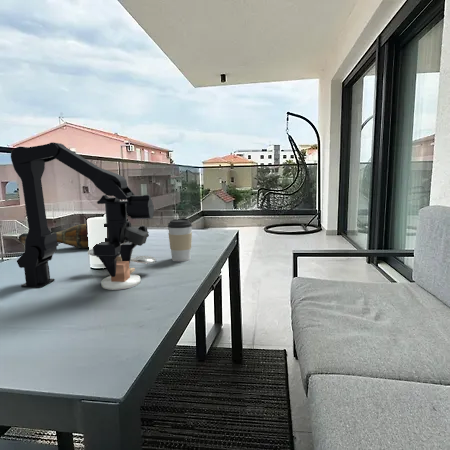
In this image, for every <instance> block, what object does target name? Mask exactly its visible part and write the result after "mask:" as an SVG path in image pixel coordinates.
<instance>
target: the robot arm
mask: <svg viewBox="0 0 450 450" xmlns="http://www.w3.org/2000/svg"><path fill="white" fill-rule="evenodd" d="M10 159H11V164H12V166H13V169H14V171H15V173H16V175H17V176H18V177H19V178H20V181H21V186H22V192H23V199H24V207H25V213H26V220H27V227H28V231H27V233H28V234H27V237H26V240H25V244H24V252H23V253H22V255H21V256H20V257H19V258H18V259H17V260H16V263H17V265H18V267H19V268H20V269H23V270H24V278H25V283H23V284H21V285H20V286H21V287H22V288H43V287H45V286H47V285H49V284H51V283H53V282H54V281H55V278H51V274H50V266H49V261H52V259H53V255H54V254H55V253H56V252H57V251H58V250H57V249H58V248H57V247H58V246H59V244H58V243H59V242H57V234H56V232H51V230H50V229H49V227H48V222H47V221H48V219H47V213H46V206H45V198H44V191H43V184H42V177H43V175H44V171H45V169H46V168H45V167H46V166H45V165H46V163H48V162H49V163H50V162H53V161H55V160H57V161H59V162H60V163H62V164H63V165H66V167H69V168H71V169H72V170H74V171H75V172H77V173H79V174H80V175H82V176H84V177H85V178H87V179H89V180H90V181H91V182H92V183H93V185H94V186H95V187H96V188H97V189H98V190H99V191H101V193H103V195H101V197H100V198H99V199H98V200H97V201H96V204H98V205H104V209H105V222H106V223H105V222H104V223H103V224H104V227H107V238H105V242H101V243H99V244H96V245H95V246H94V247H93V248H92V249H93V255H96V256H95V257H96V258H98V260H100V262H101V263H102V264H103V266H104V267H105V269H106V271H107V272H108V273H109V274H108V275H109V276H110V275H111V277H115V276H116V263H117V258H118V257H119V256H121V258H122V261H129V265H130V264H131V261H130V259H131V258H132V254H133V251H134V249H135V248H136V247H137V246H140V247H141V246H143V245H144V244H146V242H147V238H149V234H150V233H149V231H148V227H147V226H145V225H140V226H139V227H133V226H132V222H131V221H129V220H128V217H130V219H131V220H143V219H146V220H147V219H153V218H154V213H155V208H154V207H155V206H154V204H153V199H152V197H151V194H145V195H144V194H143V195H142V194H141V195H136V194H135V193H134V192H133V191H132V190H131V188H130V187H129V186H128V181H127V179H126V178H125V177H124V176H123V175H120V174H118V173H115V172H113V171H110V170H107V169H104V168H101V167H99V166H97V165H95V163H92V162H91V161H90V160H88V159H86V158H84V157H83V156H81V155H80V154H78V153H76V152H75V151H72V150H71V149H70V148H68V147H66V146H65V144H62V143H59V142H49V143H47V144H40V145H35V146H30V147H29V146H17V147H15V148H13V150H12V151H11V152H10ZM112 196H113V197H112Z"/></svg>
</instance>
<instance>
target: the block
mask: <svg viewBox="0 0 450 450" xmlns="http://www.w3.org/2000/svg"><path fill="white" fill-rule="evenodd" d="M129 268H130V264H129V261H117V263H116V276H115V277H111V282H125V281H126V280H128V279H129V278H130V269H129Z"/></svg>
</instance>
